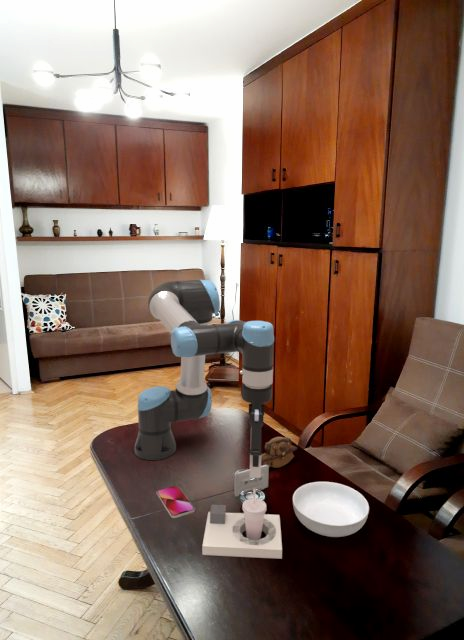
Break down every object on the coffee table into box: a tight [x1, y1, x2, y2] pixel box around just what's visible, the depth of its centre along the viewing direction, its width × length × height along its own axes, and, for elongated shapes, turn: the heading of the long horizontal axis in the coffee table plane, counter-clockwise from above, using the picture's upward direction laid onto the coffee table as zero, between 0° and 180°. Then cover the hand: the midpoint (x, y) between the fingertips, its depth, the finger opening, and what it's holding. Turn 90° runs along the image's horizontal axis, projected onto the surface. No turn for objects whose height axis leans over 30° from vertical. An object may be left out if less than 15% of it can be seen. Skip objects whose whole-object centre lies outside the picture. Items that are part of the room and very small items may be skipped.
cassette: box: [233, 464, 270, 497], centre depth 140 cm, size 12×2×8 cm, turn 118°
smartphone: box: [155, 485, 196, 519], centre depth 135 cm, size 7×1×15 cm
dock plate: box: [201, 504, 283, 560], centre depth 119 cm, size 14×20×6 cm
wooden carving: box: [261, 436, 298, 468], centre depth 155 cm, size 16×5×10 cm, turn 128°
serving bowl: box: [292, 481, 370, 538], centre depth 125 cm, size 21×21×7 cm
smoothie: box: [241, 488, 267, 540], centre depth 118 cm, size 6×6×14 cm
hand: (255, 462), depth 115 cm, fingers open, 13 cm apart
